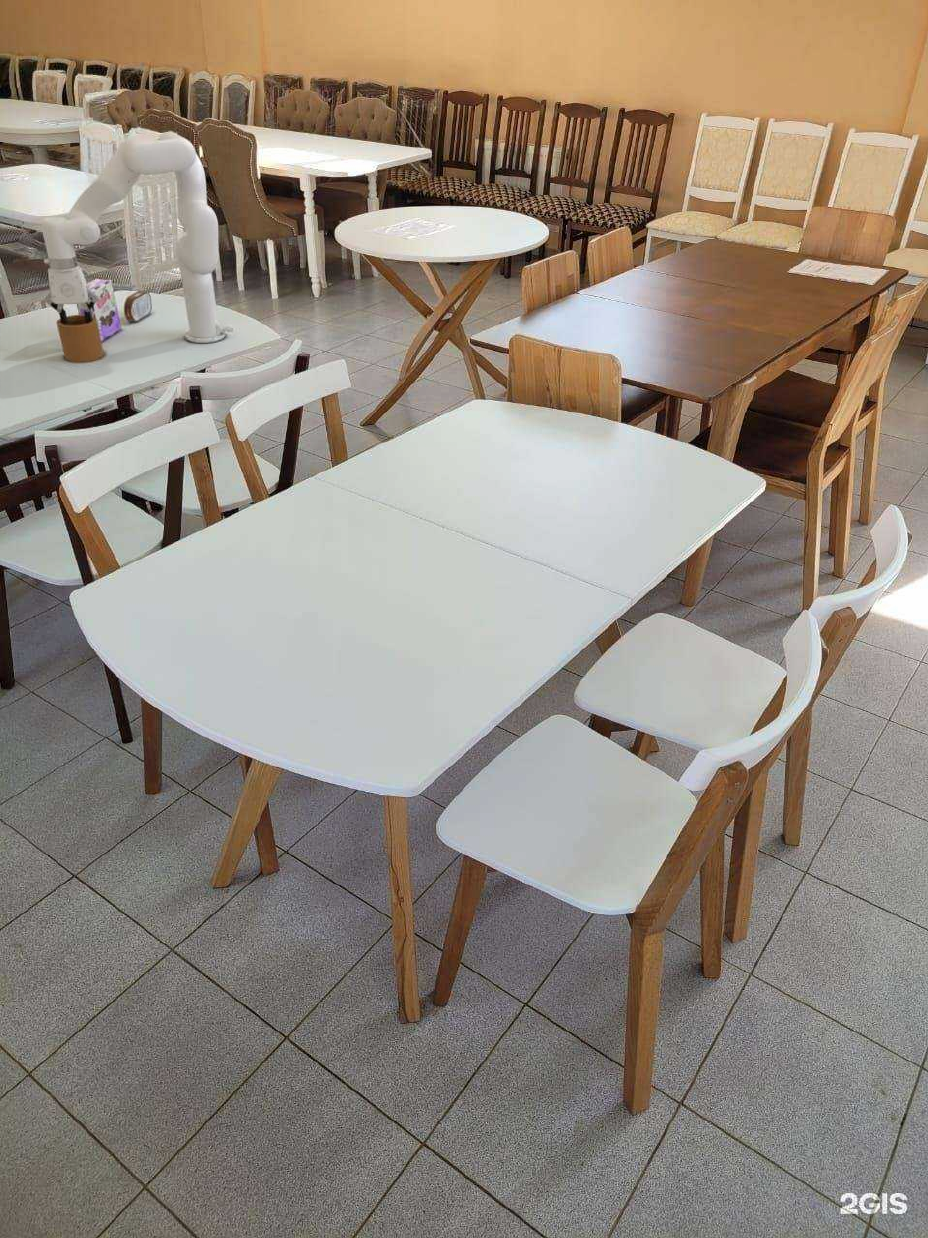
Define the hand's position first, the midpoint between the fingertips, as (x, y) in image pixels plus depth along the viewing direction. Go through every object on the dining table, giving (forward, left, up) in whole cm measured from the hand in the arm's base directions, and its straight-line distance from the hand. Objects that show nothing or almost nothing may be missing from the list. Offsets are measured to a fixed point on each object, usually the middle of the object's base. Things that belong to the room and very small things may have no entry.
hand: (77, 323), depth 278 cm
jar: (0, 0, -10) cm, 10 cm away
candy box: (-3, -19, -10) cm, 22 cm away
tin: (-13, -36, -10) cm, 40 cm away
